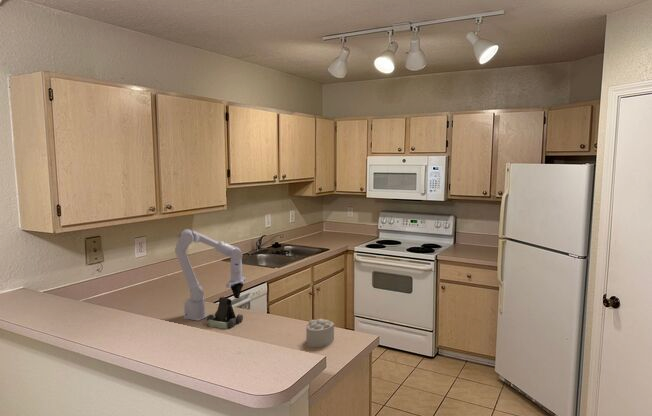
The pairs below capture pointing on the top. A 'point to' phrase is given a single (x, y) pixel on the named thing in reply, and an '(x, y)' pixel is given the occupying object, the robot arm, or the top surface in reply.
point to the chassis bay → (227, 325)
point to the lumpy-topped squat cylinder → (319, 333)
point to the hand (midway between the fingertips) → (236, 297)
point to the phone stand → (224, 310)
